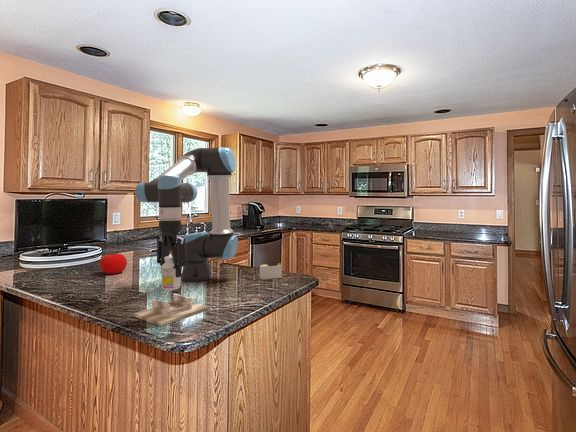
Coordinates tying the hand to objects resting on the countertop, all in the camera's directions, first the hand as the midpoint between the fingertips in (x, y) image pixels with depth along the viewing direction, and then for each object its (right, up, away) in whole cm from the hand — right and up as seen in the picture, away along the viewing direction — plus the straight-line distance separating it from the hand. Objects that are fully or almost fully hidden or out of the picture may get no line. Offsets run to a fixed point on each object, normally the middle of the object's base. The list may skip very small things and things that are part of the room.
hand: (171, 284), depth 120 cm
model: (+33, -8, +52) cm, 62 cm away
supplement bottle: (0, -2, 0) cm, 2 cm away
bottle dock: (0, -10, +1) cm, 10 cm away
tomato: (-53, -7, +63) cm, 82 cm away
